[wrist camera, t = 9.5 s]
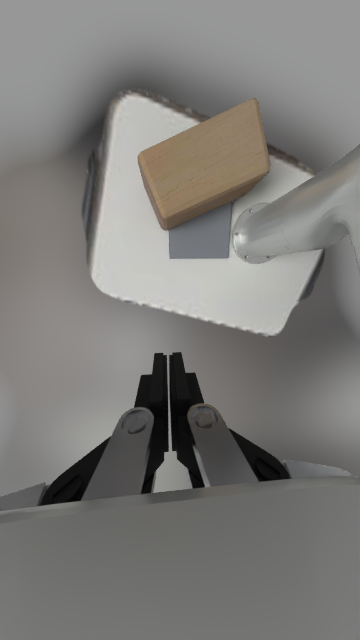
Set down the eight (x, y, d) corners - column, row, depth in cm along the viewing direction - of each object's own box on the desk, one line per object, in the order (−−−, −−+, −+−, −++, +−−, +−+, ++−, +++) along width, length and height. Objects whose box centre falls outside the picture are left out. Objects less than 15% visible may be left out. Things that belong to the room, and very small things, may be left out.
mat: (232, 178, 36) (233, 177, 36) (227, 258, 41) (227, 258, 40) (167, 176, 35) (167, 175, 34) (169, 258, 40) (169, 258, 39)
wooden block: (162, 233, 38) (246, 195, 37) (161, 221, 28) (274, 169, 27) (142, 183, 35) (233, 140, 34) (133, 151, 25) (259, 90, 24)
